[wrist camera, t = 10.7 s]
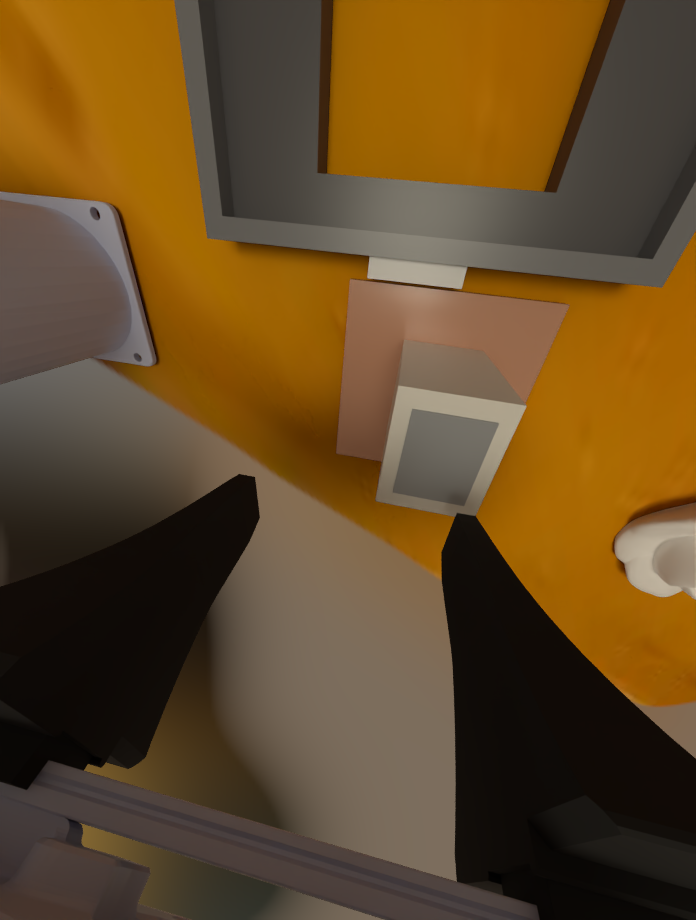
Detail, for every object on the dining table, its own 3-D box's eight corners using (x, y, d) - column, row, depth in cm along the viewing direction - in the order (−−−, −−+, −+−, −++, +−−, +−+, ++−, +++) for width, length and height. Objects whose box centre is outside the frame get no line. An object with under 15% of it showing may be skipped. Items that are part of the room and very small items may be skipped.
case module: (387, 425, 18) (375, 502, 12) (404, 339, 16) (398, 386, 10) (454, 437, 18) (473, 522, 12) (483, 351, 15) (527, 407, 9)
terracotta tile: (337, 448, 21) (336, 453, 20) (352, 278, 15) (350, 279, 14) (488, 475, 20) (490, 480, 19) (564, 303, 14) (569, 304, 13)
